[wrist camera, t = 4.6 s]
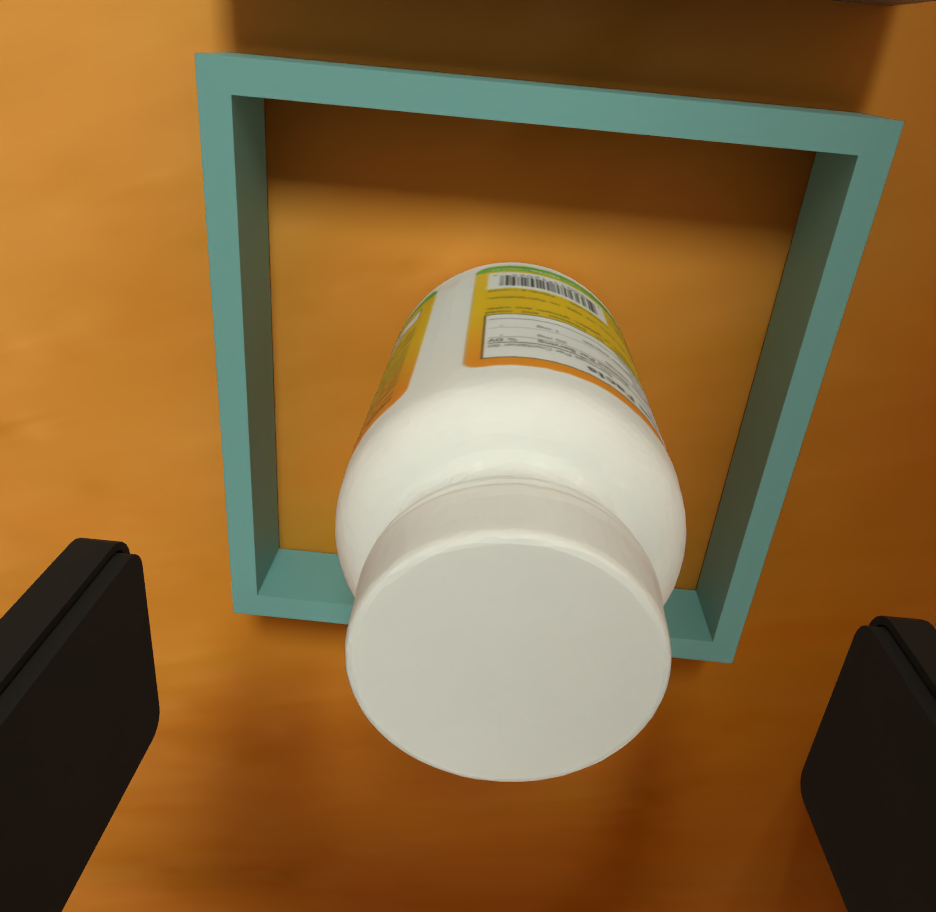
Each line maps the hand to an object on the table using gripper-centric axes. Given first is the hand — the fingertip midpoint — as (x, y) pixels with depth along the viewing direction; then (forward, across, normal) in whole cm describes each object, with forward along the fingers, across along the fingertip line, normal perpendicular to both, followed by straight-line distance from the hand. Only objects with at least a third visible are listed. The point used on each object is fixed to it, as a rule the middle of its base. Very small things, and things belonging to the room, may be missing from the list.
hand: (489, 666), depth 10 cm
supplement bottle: (+9, 0, -1) cm, 9 cm away
